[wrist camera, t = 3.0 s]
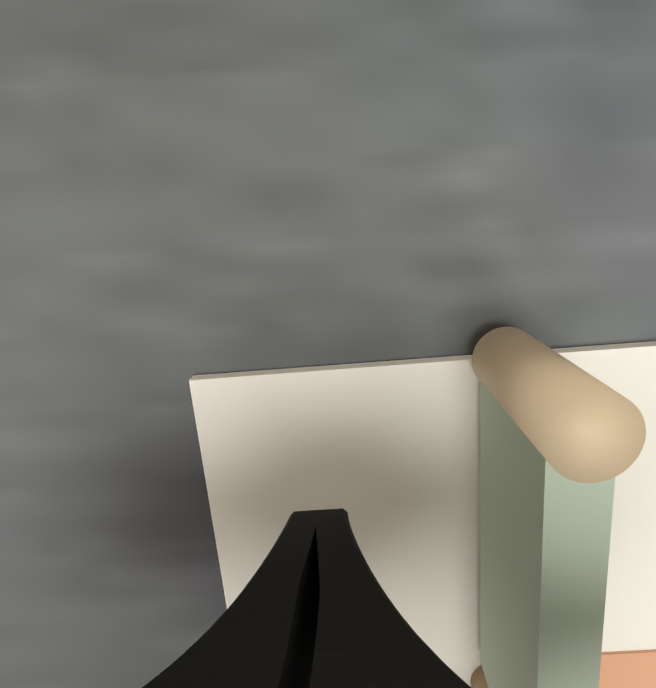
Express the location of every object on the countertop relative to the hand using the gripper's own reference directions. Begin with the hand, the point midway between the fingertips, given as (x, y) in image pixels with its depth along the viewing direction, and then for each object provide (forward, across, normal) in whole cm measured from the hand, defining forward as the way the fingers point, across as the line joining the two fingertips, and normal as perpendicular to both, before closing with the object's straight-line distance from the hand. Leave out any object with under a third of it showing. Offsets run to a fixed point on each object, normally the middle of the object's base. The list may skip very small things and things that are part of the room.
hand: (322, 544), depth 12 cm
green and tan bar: (+1, -5, 0) cm, 5 cm away
